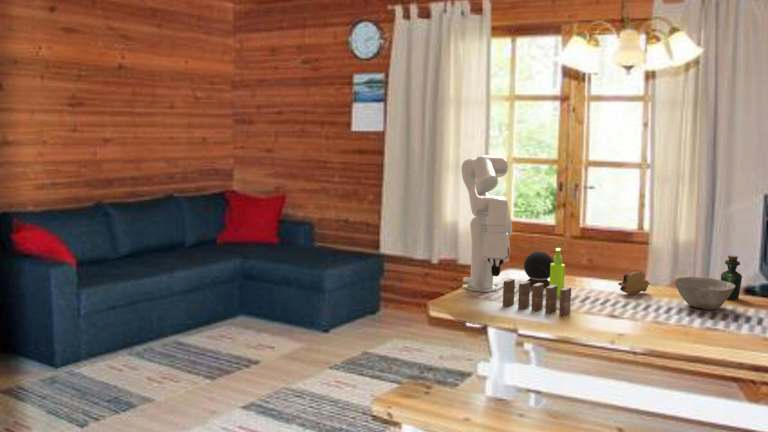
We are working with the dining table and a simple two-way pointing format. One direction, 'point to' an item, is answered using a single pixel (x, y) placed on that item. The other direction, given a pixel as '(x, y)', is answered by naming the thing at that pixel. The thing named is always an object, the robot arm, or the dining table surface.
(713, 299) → the ceramic bowl
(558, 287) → the soap dispenser
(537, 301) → the domino
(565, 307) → the domino
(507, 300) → the domino
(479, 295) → the dining table surface
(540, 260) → the black ball on stand
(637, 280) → the wooden carving
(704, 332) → the dining table surface
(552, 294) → the domino
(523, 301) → the domino
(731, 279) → the potion bottle
